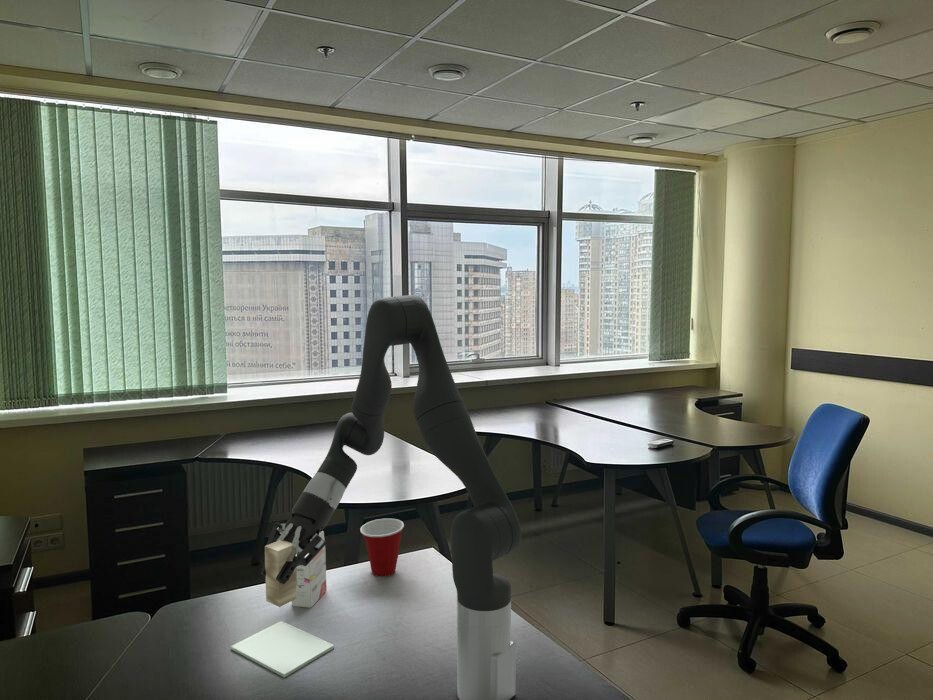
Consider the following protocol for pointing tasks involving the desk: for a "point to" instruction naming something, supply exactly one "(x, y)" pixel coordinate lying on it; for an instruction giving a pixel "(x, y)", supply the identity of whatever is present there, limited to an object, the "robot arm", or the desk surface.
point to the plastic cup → (383, 544)
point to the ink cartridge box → (311, 580)
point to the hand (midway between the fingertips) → (272, 578)
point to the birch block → (273, 564)
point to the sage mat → (282, 648)
